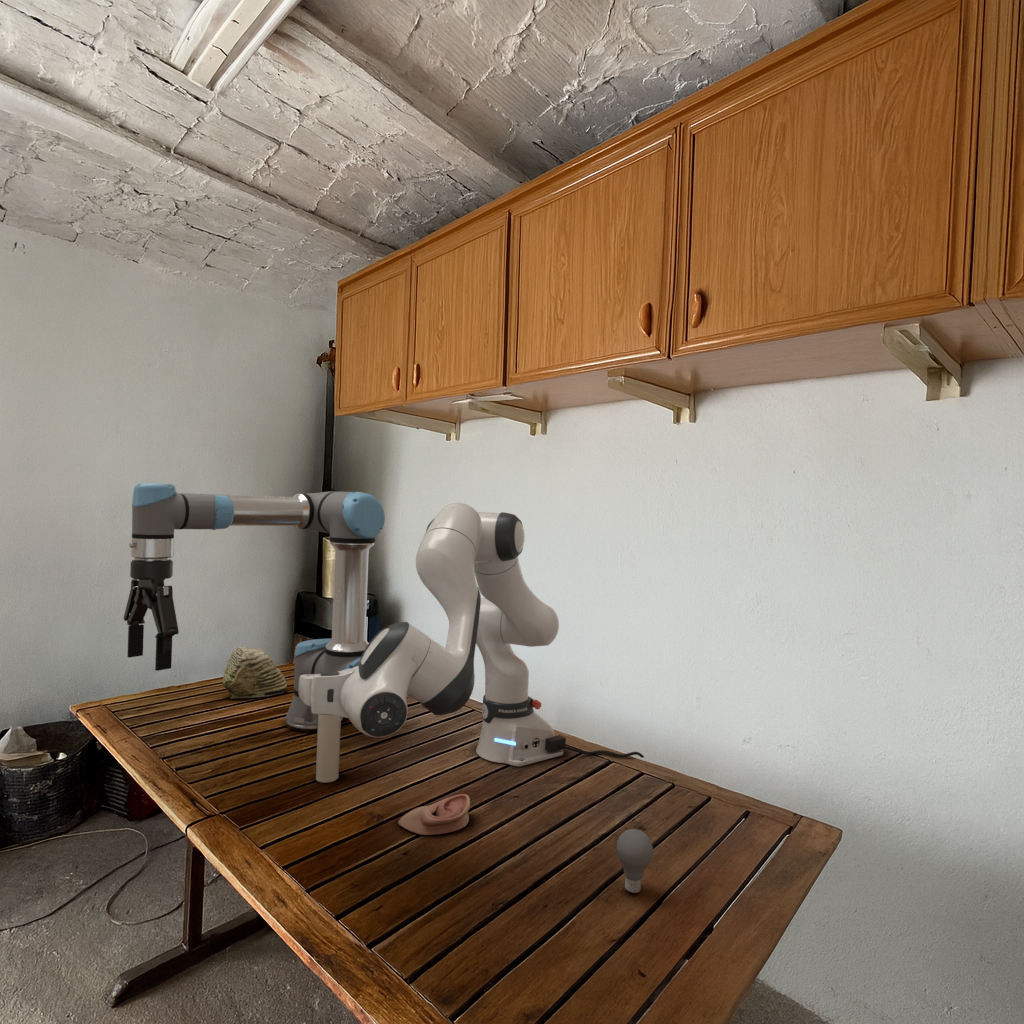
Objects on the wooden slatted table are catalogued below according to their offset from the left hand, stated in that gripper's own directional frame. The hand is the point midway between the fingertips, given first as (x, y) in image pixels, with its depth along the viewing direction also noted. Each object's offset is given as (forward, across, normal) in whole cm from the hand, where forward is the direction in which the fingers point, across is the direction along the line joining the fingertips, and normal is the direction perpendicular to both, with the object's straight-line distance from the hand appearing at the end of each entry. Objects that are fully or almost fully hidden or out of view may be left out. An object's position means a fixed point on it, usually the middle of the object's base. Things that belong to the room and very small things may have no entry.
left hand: (148, 662), depth 129 cm
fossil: (+28, -47, +50) cm, 74 cm away
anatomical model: (+28, +50, +34) cm, 67 cm away
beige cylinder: (+28, +18, +31) cm, 46 cm away
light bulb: (+28, +90, +41) cm, 103 cm away
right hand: (-1, +38, +22) cm, 43 cm away
